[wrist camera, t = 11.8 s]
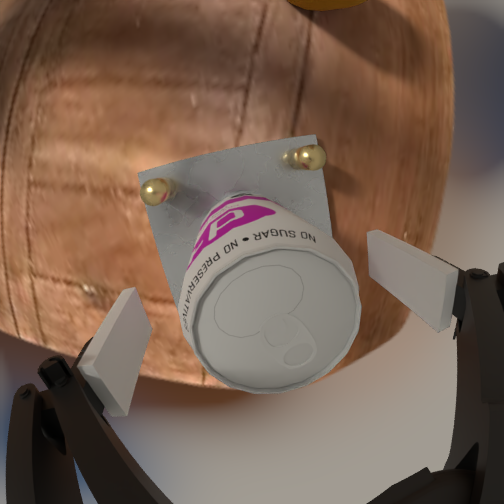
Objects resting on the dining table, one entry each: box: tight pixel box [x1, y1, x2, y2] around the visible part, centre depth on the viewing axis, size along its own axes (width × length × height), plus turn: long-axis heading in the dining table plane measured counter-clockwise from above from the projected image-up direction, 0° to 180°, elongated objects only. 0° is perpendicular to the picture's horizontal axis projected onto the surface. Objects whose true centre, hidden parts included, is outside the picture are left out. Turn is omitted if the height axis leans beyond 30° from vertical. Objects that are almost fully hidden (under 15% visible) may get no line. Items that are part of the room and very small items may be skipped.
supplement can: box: [178, 193, 362, 394], centre depth 18 cm, size 8×8×15 cm
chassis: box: [138, 134, 332, 312], centre depth 23 cm, size 16×16×5 cm
